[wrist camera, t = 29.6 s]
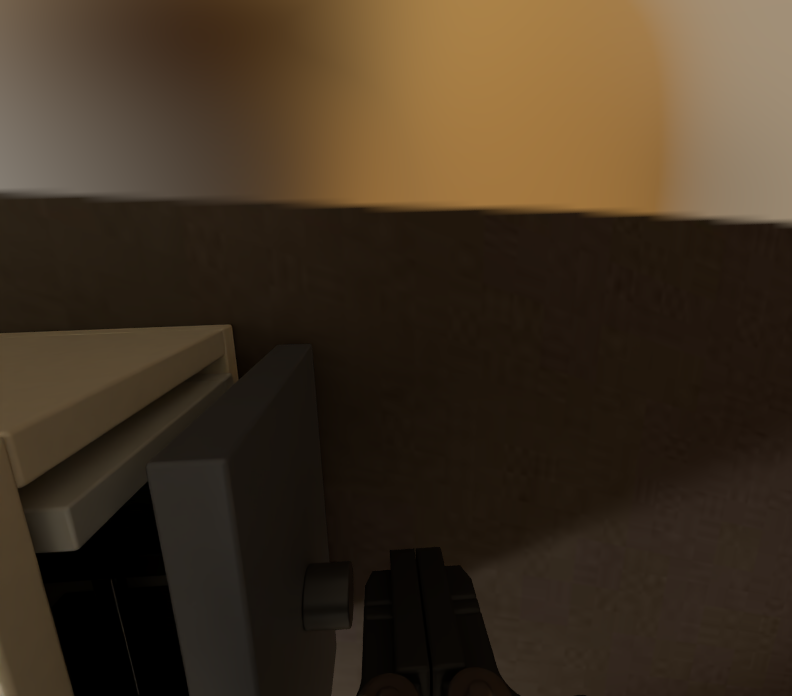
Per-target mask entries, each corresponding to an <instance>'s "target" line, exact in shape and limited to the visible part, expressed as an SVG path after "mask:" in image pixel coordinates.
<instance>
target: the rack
mask: <svg viewBox="0 0 792 696" xmlns="http://www.w3.org/2000/svg"><path fill="white" fill-rule="evenodd" d="M35 554H36V558H37V561H38V565H39V569H40V572H41V576H42V580H43V583H44V587H45V584H48V583H62V582H76V581H90V580H91V582H92V586H93V590H94V591H80V592H66V593H64V594H63V595H62V596H61V597H60V598H59V600H58V601H57V602H56V603H55V604H54V605H53V606H52V607H51V605H50V602H49V605H50V608H51V612H52V616H53V619H54V623H55V627H56V630H57V634H58V637H59V641H60V645H61V648H62V652H63V656H64V659H65V663H66V666H67V670H68V674H69V677H70V681H71V685H72V688H73V692H74V695H75V696H189V692H188V687H187V681H186V676H185V671H184V666H183V661H182V655H181V650H180V645H179V640H178V635H177V629H176V624H175V619H174V614H173V609H172V603H171V598H170V593H169V588H168V585H164V586H150V587H136V588H129V587H128V583H127V579H126V578H133V577H147V576H161V575H166V572H165V567H164V562H163V556H162V551H161V546H160V541H159V536H158V530H157V525H156V520H155V515H154V510H153V504H152V499H151V494H150V489H149V484H148V481H147V482H146V483H145V484H144V485H143V486H142V487H141V488H140V489H139V490H138V491H137V492H136V493H135V494H134V495H133V496H132V497H131V498H130V499H129V500H128V501H127V502H126V503H125V504H124V505H123V506H122V507H121V508H120V509H119V510H118V511H117V512H116V513H115V514H114V515H113V516H112V517H111V518H110V519H109V520H108V521H107V522H106V523H105V524H104V525H103V526H102V527H101V528H100V529H99V530H98V531H97V532H96V533H95V534H94V535H93V536H92V537H91V538H90V539H89V540H88V541H87V542H86V543H85V544H84V545H83V546H82V547H81V548H80V549H78V550H75V551H65V552H48V553H35ZM45 590H46V588H45ZM46 594H47V591H46ZM47 598H48V595H47ZM48 601H49V598H48Z"/></svg>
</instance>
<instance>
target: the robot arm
mask: <svg viewBox="0 0 792 696" xmlns="http://www.w3.org/2000/svg"><path fill="white" fill-rule="evenodd" d="M390 563H391V570H382V571H372V573H371V575H370V577H369V579H368V581H367V583H366V585H365V598H364V628H363V657H362V679H361V685H360V688H359V691H358V693H357V695H356V696H520V695H519V694H517V693H516V692H514V691H513V690H512V689H511V688H510V687H509V686H508V685H507V684H506V682H505V681H504V680H503V678H502V677H501V675H500V673H499V671H498V668H497V665H496V662H495V659H494V655H493V652H492V648H491V645H490V641H489V638H488V635H487V631H486V628H485V624H484V621H483V618H482V614H481V613H480V607H479V604H478V600H477V599H476V594H475V590H474V587H473V583H472V580H471V578H470V577H469V576H468V574H467V573H466V572H465V571H464V570H463V568H462V567H461V566H460V565H457V566H444V561H443V557H442V552H441V548H440V547H431V548H416V559H415V552H414V549H401V550H390ZM576 696H586V695H576Z"/></svg>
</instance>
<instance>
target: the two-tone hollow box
mask: <svg viewBox="0 0 792 696" xmlns="http://www.w3.org/2000/svg"><path fill="white" fill-rule="evenodd" d="M147 481H148V484H149V489H150V494H151V499H152V504H153V510H154V515H155V520H156V525H157V530H158V536H159V541H160V546H161V551H162V556H163V562H164V567H165V572H166V575H161V576H147V577H133V578H126V579H127V583H128V587H129V588H136V587H150V586H164V585H168V588H169V593H170V598H171V603H172V609H173V614H174V619H175V624H176V629H177V635H178V640H179V645H180V650H181V655H182V661H183V666H184V671H185V676H186V681H187V687H188V692H189V696H331V692H332V683H333V673H334V664H335V654H336V634H335V630H339V629H350V628H351V626H352V620H353V568H352V563H351V562H350V561H344V562H330V561H329V548H328V536H327V524H326V512H325V499H324V487H323V475H322V463H321V450H320V438H319V426H318V414H317V401H316V389H315V377H314V365H313V352H312V345H311V344H287V345H277V346H275V347H274V348H273V349H272V350H271V351H270V352H269V353H268V354H267V355H266V356H264V357H263V358H262V359H261V360H260V361H259V362H258V363H257V364H256V365H254V366H253V367H252V368H251V369H250V370H249V371H248V372H247V373H246V374H245V375H243V376H242V377H241V378H240V379H239V380H238V381H237V382H236V383H235V384H233V376H232V374H231V373H218V374H195V375H193V376H192V377H190V378H188V379H187V380H185V381H184V382H182V383H181V384H179V385H178V386H176V387H175V388H173V389H172V390H170V391H169V392H167V393H166V394H164V395H163V396H161V397H160V398H158V399H157V400H155V401H154V402H152V403H151V404H149V405H147V406H146V407H144V408H143V409H141V410H140V411H138V412H137V413H135V414H134V415H132V416H131V417H129V418H128V419H126V420H125V421H123V422H122V423H120V424H119V425H117V426H116V427H114V428H113V429H111V430H109V431H108V432H106V433H105V434H103V435H102V436H100V437H99V438H97V439H96V440H94V441H93V442H91V443H90V444H88V445H87V446H85V447H84V448H82V449H81V450H79V451H78V452H76V453H75V454H73V455H72V456H70V457H68V458H67V459H65V460H64V461H62V462H61V463H59V464H58V465H56V466H55V467H53V468H52V469H50V470H49V471H47V472H46V473H44V474H43V475H41V476H40V477H38V478H37V479H35V480H34V481H32V482H30V483H29V484H27V485H26V486H24V487H22V488H18V493H19V496H20V500H21V503H22V507H23V511H24V514H25V518H26V522H27V525H28V529H29V532H30V536H31V540H32V543H33V547H34V551H35V553H48V552H65V551H75V550H78V549H80V548H81V547H82V546H83V545H84V544H85V543H86V542H87V541H88V540H89V539H90V538H91V537H92V536H93V535H94V534H95V533H96V532H97V531H98V530H99V529H100V528H101V527H102V526H103V525H104V524H105V523H106V522H107V521H108V520H109V519H110V518H111V517H112V516H113V515H114V514H115V513H116V512H117V511H118V510H119V509H120V508H121V507H122V506H123V505H124V504H125V503H126V502H127V501H128V500H129V499H130V498H131V497H132V496H133V495H134V494H135V493H136V492H137V491H138V490H139V489H140V488H141V487H142V486H143V485H144V484H145V483H146V482H147ZM45 588H46V591H47V595H48V598H49V602H50V605H51V607H52V606H53V605H54V604H55V603H56V602H57V601H58V600H59V598H60V597H61V596H62V595H63V594H64V593H66V592H80V591H94V590H93V586H92V582H91V580H90V581H76V582H62V583H48V584H45Z"/></svg>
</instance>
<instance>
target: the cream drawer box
mask: <svg viewBox="0 0 792 696" xmlns="http://www.w3.org/2000/svg"><path fill="white" fill-rule="evenodd" d="M218 373H231V374H232V376H233V384H235V383H236V382H237V381H238V380H239V379H238V371H237V363H236V355H235V347H234V339H233V331H232V326H231V325H229V324H227V325H202V326H176V327H150V328H124V329H98V330H72V331H46V332H20V333H0V696H75V695H74V692H73V688H72V685H71V681H70V677H69V674H68V670H67V666H66V663H65V659H64V656H63V652H62V648H61V645H60V641H59V637H58V634H57V630H56V627H55V623H54V619H53V616H52V612H51V608H50V605H49V601H48V598H47V594H46V590H45V587H44V583H43V580H42V576H41V572H40V569H39V565H38V561H37V558H36V554H35V551H34V547H33V543H32V540H31V536H30V532H29V529H28V525H27V522H26V518H25V514H24V511H23V507H22V503H21V500H20V496H19V493H18V488H22V487H24V486H26V485H27V484H29V483H30V482H32V481H34V480H35V479H37V478H38V477H40V476H41V475H43V474H44V473H46V472H47V471H49V470H50V469H52V468H53V467H55V466H56V465H58V464H59V463H61V462H62V461H64V460H65V459H67V458H68V457H70V456H72V455H73V454H75V453H76V452H78V451H79V450H81V449H82V448H84V447H85V446H87V445H88V444H90V443H91V442H93V441H94V440H96V439H97V438H99V437H100V436H102V435H103V434H105V433H106V432H108V431H109V430H111V429H113V428H114V427H116V426H117V425H119V424H120V423H122V422H123V421H125V420H126V419H128V418H129V417H131V416H132V415H134V414H135V413H137V412H138V411H140V410H141V409H143V408H144V407H146V406H147V405H149V404H151V403H152V402H154V401H155V400H157V399H158V398H160V397H161V396H163V395H164V394H166V393H167V392H169V391H170V390H172V389H173V388H175V387H176V386H178V385H179V384H181V383H182V382H184V381H185V380H187V379H188V378H190V377H192V376H193V375H195V374H218Z"/></svg>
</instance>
